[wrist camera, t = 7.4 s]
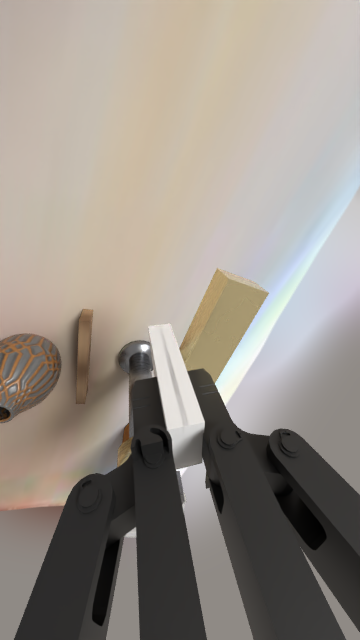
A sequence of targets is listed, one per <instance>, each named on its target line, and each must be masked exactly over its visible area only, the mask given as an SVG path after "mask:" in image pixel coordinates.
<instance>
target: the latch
mask: <svg viewBox="0 0 360 640" xmlns="http://www.w3.org/2000/svg"><path fill="white" fill-rule="evenodd" d="M268 294H269V293H268V292H267V291H266V290H264V289H263V288H262V287H260V286H259V285H258V284H256V283H255V282H253V281H251V280H248V279H245V278H243V277H240V276H237V275H234V274H232V273H229V272H226V271H224V270H221V269H218V268H217V270H216V272H215V274H214V276H213V278H212V280H211V282H210V285H209V287H208V289H207V291H206V293H205V295H204V297H203V299H202V302H201V304H200V306H199V308H198V310H197V312H196V314H195V316H194V319H193V321H192V323H191V325H190V327H189V329H188V331H187V333H186V336H185V338H184V340H183V342H182V344H181V346H180V348H179V350H180V353H181V355H182V358H183V361H184V364H185V367H186V370H187V371H190V370H196V369H202V368H203V369H205V370H206V371H207V372H208V373H209V374H210V375H211V377H212V379H213V381H214V383H215V382H216V381H217V379H218V377H219V376H220V374H221V372H222V371H223V369H224V367H225V365H226V364H227V362H228V360H229V359H230V357H231V355H232V354H233V352H234V350H235V349H236V347H237V345H238V344H239V342H240V340H241V339H242V337H243V335H244V334H245V332H246V330H247V329H248V327H249V325H250V324H251V322H252V320H253V319H254V317H255V315H256V314H257V312H258V310H259V309H260V307H261V305H262V304H263V302H264V300H265V299H266V297H267V295H268ZM132 439H133V437H131V438H129V439H128V440H126V441H125V442H124V443H123V444H122V445H121V446H120V447H119V450H118V462H117V468H118V467H119V466H120V465H122V464H123V463H124V462H125V461H126V460H127V459H128V458H129V456H130V454H131V449H130V447H131V441H132ZM176 474H177V479H178V484H179V490H180V495H181V501H182V504H183V503H184V502H185V499H184V493H183V488H182V483H181V477H180V471H176Z"/></svg>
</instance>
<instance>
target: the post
mask: <svg viewBox="0 0 360 640" xmlns="http://www.w3.org/2000/svg"><path fill="white" fill-rule="evenodd" d="M119 364H120V366H121V368H122V369H123V370H124V371H125V372H127V373H129V438H131V437H134V425H133V404H132V388H133V386H134V384H135V381H136V380H142V379H147V378H152V373H151V371H152V370H153V364H152V356H151V347H150V343H149V342H146V341H134V342H131V343H129V344H127V345H126V346H124V347H123V348H122V350H121V352H120V355H119Z"/></svg>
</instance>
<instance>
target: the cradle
mask: <svg viewBox="0 0 360 640" xmlns="http://www.w3.org/2000/svg"><path fill="white" fill-rule="evenodd" d="M92 317H93V310H87V309H83V311H82V314H81V316H80V319H79V332H78V360H77V388H76V404H85V399H86V394H87V389H88V376H89V361H90V347H91V332H92Z"/></svg>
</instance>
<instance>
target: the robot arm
mask: <svg viewBox="0 0 360 640" xmlns="http://www.w3.org/2000/svg"><path fill="white" fill-rule="evenodd" d="M148 329H149V338H150V347H151V356H152V364H153V370H154V376H155V377H153V378H147V379H142V380H136V381H135V384H134V386H133V388H132V404H133V425H134V437H133V439H132V441H131V447H130V449H131V454H130V456H129V458H128V459H127V460H126V461H125V462H124V463H123V464H122V465H120V466H119V467H118V468H116V469H114V470H113V471H111V472H109V473H108V474H106V475H102V474H98V473H96V474H91V475H88V476H86V477H84V478H83V479H81V480H80V481H79V482H78V483H77V484H76V485H75V486H74V487H73V489H72V491H71V493H70V494H69V496H68V498H67V501H66V504H65V506H64V509H63V512H62V514H61V517H60V520H59V522H58V525H57V528H56V530H55V533H54V535H53V538H52V541H51V543H50V546H49V548H48V551H47V554H46V556H45V559H44V562H43V564H42V567H41V570H40V572H39V575H38V578H37V580H36V583H35V586H34V588H33V591H32V594H31V596H30V599H29V601H28V604H27V607H26V609H25V612H24V615H23V617H22V620H21V623H20V625H19V628H18V631H17V633H16V636H15V638H14V640H106V635H107V629H108V624H109V617H110V612H111V607H112V601H113V596H114V590H115V585H116V579H117V573H118V568H119V562H120V557H121V551H122V545H123V540H124V536H125V535H126V534H127V533H129V532H130V531H131V530H132V529H134V528H135V527H136V540H137V567H138V568H137V569H138V595H139V623H140V640H207V638H206V633H205V627H204V621H203V616H202V611H201V605H200V599H199V594H198V588H197V583H196V577H195V572H194V566H193V561H192V556H191V550H190V545H189V539H188V534H187V528H186V523H185V517H184V512H183V506H182V501H181V495H180V490H179V484H178V479H177V474H176V469H180V468H184V467H188V466H192V465H196V464H200V463H202V458H203V460H204V463H205V467H206V481H205V483H206V488H210V491H211V495H212V498H213V502H214V505H215V509H216V512H217V516H218V519H219V522H220V525H221V529H222V533H223V536H224V539H225V543H226V546H227V550H228V553H229V556H230V560H231V563H232V567H233V570H234V573H235V577H236V580H237V584H238V587H239V590H240V594H241V598H242V601H243V604H244V608H245V611H246V614H247V618H248V621H249V625H250V628H251V631H252V635H253V639H254V640H346V639H345V636H344V634H343V633H342V630H341V629H340V627H339V624H338V623H337V621H336V618H335V616H334V614H333V612H332V610H331V608H330V606H329V604H328V602H327V600H326V598H325V596H324V594H323V592H322V590H321V588H320V586H319V584H318V582H317V580H316V578H315V576H314V574H313V572H312V570H311V568H310V566H309V564H308V562H307V560H306V558H305V556H304V554H303V552H302V550H303V551H304V553H305V554H306V556H307V557H308V559H309V560H310V561H311V562H312V564H313V566H314V567H315V569H316V570H317V572H318V573H319V574H320V576H321V577H322V579H323V580H324V581H325V583H326V584H327V586H328V587H329V589H330V590H331V592H332V593H333V595H334V596H335V597H336V599H337V600H338V602H339V603H340V604H341V606H342V608H343V609H344V610H345V612H346V613H347V615H348V616H349V617H350V619H351V620H352V622H353V623H354V624H355V626H356V628H357V629H358V631H359V632H360V495H359V494H358V493H357V492H356V491H355V490H354V489H353V488H352V487H351V486H350V485H349V484H348V483H347V482H346V481H345V480H344V479H343V478H342V477H341V476H340V475H339V474H338V473H337V472H336V471H335V470H334V469H333V468H332V467H331V466H330V465H329V464H328V463H327V462H326V461H325V460H324V459H323V458H322V457H321V456H320V455H319V454H318V453H317V452H316V451H315V450H314V449H313V448H312V447H311V446H310V445H309V444H308V443H307V442H306V441H305V440H304V439H303V438H302V437H300V436H299V435H298V434H297V433H295V432H293V431H291V430H288V429H278V430H275V431H273V433H272V434H271V435H270V436H264V435H256V434H250V433H247V432H245V431H242V430H241V429H239V428H238V427H237V426H236V425H235V424H234V423H233V421H232V420H231V418H230V416H229V413H228V411H227V409H226V407H225V405H224V403H223V400H222V398H221V396H220V394H219V392H218V390H217V388H216V385H215V383H214V381H213V379H212V377H211V375H210V374H209V373H208V372H207V371H206V370H205V369H203V368H202V369H196V370H190V371H187V370H186V367H185V364H184V361H183V358H182V355H181V353H180V350H179V347H178V344H177V341H176V338H175V335H174V333H173V330H172V327H171V324H170V323H169V324H161V325H153V326H148ZM300 547H301V548H300ZM301 549H302V550H301Z"/></svg>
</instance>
